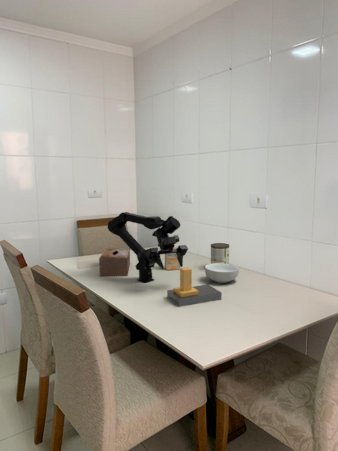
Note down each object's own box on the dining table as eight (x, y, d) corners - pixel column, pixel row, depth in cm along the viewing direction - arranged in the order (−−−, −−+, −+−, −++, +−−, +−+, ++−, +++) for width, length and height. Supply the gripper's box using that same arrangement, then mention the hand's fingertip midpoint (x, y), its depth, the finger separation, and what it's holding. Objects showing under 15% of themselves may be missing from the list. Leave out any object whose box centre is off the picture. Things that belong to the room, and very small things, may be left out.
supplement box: (166, 270, 196) (166, 247, 194) (164, 268, 201) (164, 245, 199) (180, 269, 198) (180, 246, 196) (178, 267, 203) (178, 244, 201)
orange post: (173, 296, 153) (173, 267, 151) (189, 294, 156) (189, 265, 154) (181, 302, 146) (181, 272, 144) (198, 300, 149) (198, 270, 147)
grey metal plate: (167, 297, 154) (167, 290, 154) (207, 290, 162) (207, 284, 161) (179, 306, 143) (178, 299, 143) (221, 299, 151) (221, 292, 151)
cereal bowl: (238, 286, 167) (238, 272, 166) (203, 284, 171) (203, 270, 170) (238, 276, 184) (238, 263, 183) (206, 275, 187) (206, 262, 186)
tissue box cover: (127, 276, 186) (127, 258, 185) (99, 277, 185) (99, 258, 184) (130, 264, 212) (129, 247, 210) (105, 264, 211) (105, 248, 209)
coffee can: (210, 266, 203) (210, 242, 201) (228, 267, 202) (228, 243, 200) (210, 271, 193) (210, 246, 191) (229, 272, 192) (230, 246, 190)
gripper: (148, 230, 158) (157, 260, 150) (186, 228, 165) (197, 256, 157) (143, 244, 166) (151, 273, 158) (179, 241, 173) (189, 269, 165)
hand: (172, 267), depth 159 cm, fingers open, 9 cm apart
